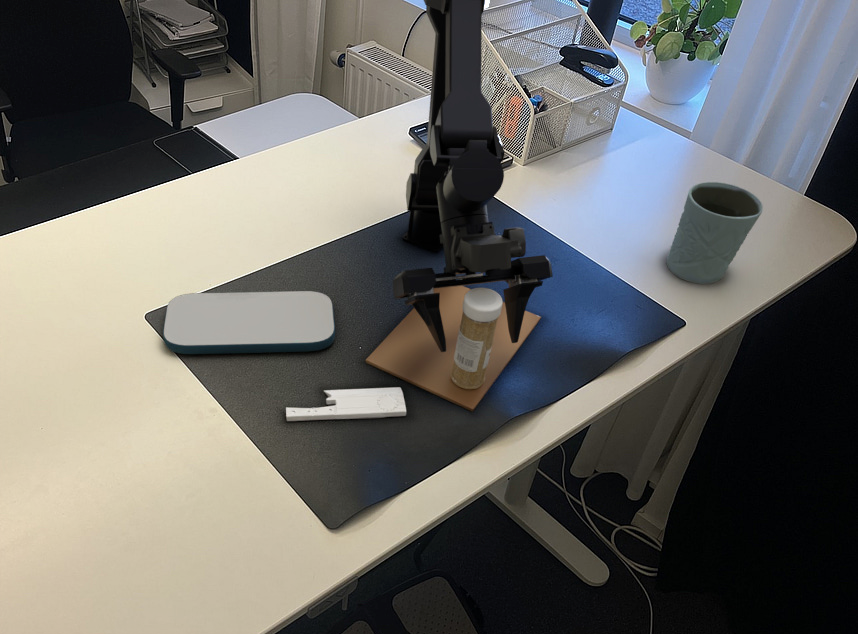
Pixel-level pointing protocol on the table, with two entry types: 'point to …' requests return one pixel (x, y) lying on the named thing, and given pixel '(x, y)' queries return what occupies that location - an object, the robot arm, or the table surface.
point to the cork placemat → (429, 367)
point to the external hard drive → (249, 322)
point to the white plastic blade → (354, 405)
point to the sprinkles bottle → (475, 337)
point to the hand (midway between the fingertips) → (479, 347)
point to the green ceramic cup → (712, 231)
